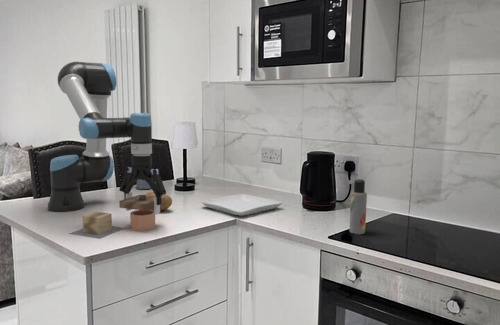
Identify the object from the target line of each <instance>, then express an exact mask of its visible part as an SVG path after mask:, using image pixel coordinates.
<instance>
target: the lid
mask: <svg viewBox="0 0 500 325" xmlns="http://www.w3.org/2000/svg"><path fill="white" fill-rule="evenodd" d="M161 198H162V201H161V202H162V203H161V204H160V206H161V205H163V204H165V197H161ZM118 203H119V204H118V205H119V208H120V209H126V208H127V209H131V210H134V211H136V210H144V211H147V210H151V209H153V208H154V196H146V195H145V194H138V195H134V196H132V197H131V198H128V199H122V200H119V202H118Z"/></svg>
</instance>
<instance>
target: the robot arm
mask: <svg viewBox="0 0 500 325" xmlns="http://www.w3.org/2000/svg"><path fill="white" fill-rule="evenodd" d="M57 84H58V87H59V88H60V91H61V92H62V93H63V94H66V96H67V98H68V100H69V101H70V103H71V105H72V107H73V109H74V111H75V112H76V115H77V116H78V118H79V121H78V132H79V136H80V137H81V138H82V139H86V140H85V141H86V143H85V144H86V145H85V147H86V148H85V150H84V151H82V157H79V155H77V154H67V155H62V156H61V155H60V156H57V157H54V158H52V159H50V163H49V164H50V165H49V171H50V189H51V191H50V197H49V201H48V203H47V210H48V211H50V212H60V213H61V212H72V211H77V210H81V209H83V208H85V201H84V199H83V195H82V192H81V189H80V185H81V184H86V183H87V184H88V183H97V182H104V181H105V182H106V181H109V179H111V178H112V176H113V174H114V170H115V163H114V159H113V156H111V155H110V152H109V151H107V139H119V138H121V139H122V138H130V152H131V153H130V154H132V155H131V157H130V158H131V159H130V160H131V161H130V162H131V166H127V167H125V168H124V175H123V177H122V179H121V182H120V186H119V191H120V192H122V193H123V196H124V197H123V198H124V199H128V198H131V197H133V192H131V190H132V189H133V187H134V186H135V184H137V180H140V179H141V180H145V181H146V182H148V184H149V186H150V187H151V188H150V189H151V191H152V192H154V194H155V195H156V196H154V214H155V215H157V214H160V213H161V211H160V204H161V203H162V202H161V201H162V198H161V197H162V195H164V194H165V195H167V190H166V188H165V185H164V182H163V180H162V177H161V175H160V169H159V168H156V169H154V168H152V167H153V166H152V165H153V156H152V154H153V143H152V141H153V140H152V139H153V138H152V133H153V132H152V130H153V129H152V126H153V123H152V116H151V114H150V113H148V112H147V113H146V112H145V113H144V112H134V113H131V114H130V117H125V116H124V117H108V99H109V98H110V97H111V96H112V92H113V91H115V90H116V88H117V76H116V72H115V70H114V68H113V66H112V65H110V64H108V63H107V64H106V63H101V62H88V61H87V62H83V61H71V62H69V63H66V64H64V66H62V67H61V69H60V70H59V72H58V74H57ZM131 175H132V176H131ZM124 199H123V200H124ZM131 210H132V209H127V208H125V211H131Z"/></svg>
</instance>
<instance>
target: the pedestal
mask: <svg viewBox="0 0 500 325" xmlns="http://www.w3.org/2000/svg"><path fill="white" fill-rule="evenodd" d="M112 218H113V217H112V213H108V212H103V211H95V212H91V213H88V214H85V215H82V229H83V232H85V233H92V234H98V235H99V234H101V233H104V232H107V231H109V230H112V226H113V222H112Z"/></svg>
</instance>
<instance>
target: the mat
mask: <svg viewBox="0 0 500 325" xmlns="http://www.w3.org/2000/svg"><path fill="white" fill-rule="evenodd" d="M124 229H126V227H122V226H121V227H120V226H114V225H112V230H109V231H107V232H104V233H101V234H99V235H98V234H92V233H85V232H83V228H81V229H78V230H75V231H72V232H69V233H68V235H74V236H79V237H80V236H81V237H86V238H92V239H99V240H101V239H103V238H105V237H108V236H109V235H112V234H115V233H117V232H120V231H122V230H124Z"/></svg>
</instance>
